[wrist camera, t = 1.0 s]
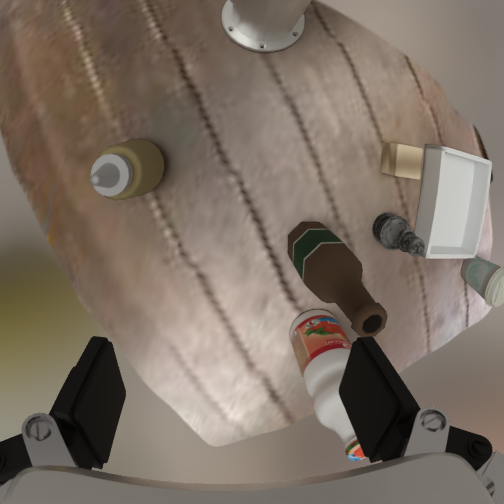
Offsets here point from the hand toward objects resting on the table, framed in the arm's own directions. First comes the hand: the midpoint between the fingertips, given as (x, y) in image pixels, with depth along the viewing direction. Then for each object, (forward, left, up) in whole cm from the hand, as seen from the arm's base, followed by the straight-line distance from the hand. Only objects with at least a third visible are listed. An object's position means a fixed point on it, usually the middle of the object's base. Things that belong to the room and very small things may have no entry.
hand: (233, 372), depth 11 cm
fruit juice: (+24, +16, -36) cm, 47 cm away
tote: (-2, +41, -36) cm, 55 cm away
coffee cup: (+12, +53, -36) cm, 66 cm away
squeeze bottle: (-5, -13, -36) cm, 39 cm away
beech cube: (-8, +27, -36) cm, 46 cm away
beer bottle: (+7, +13, -36) cm, 39 cm away
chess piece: (+4, +27, -36) cm, 46 cm away
